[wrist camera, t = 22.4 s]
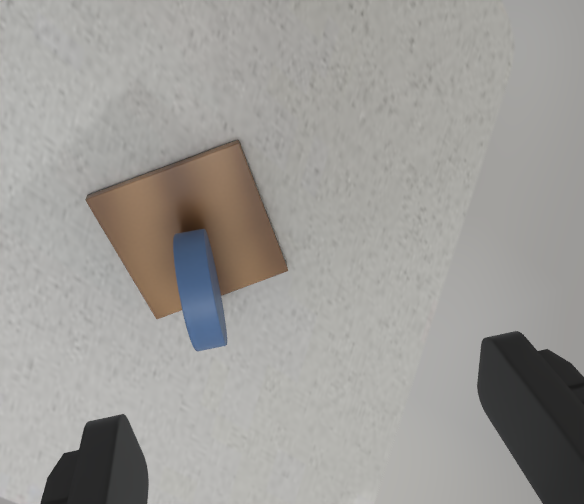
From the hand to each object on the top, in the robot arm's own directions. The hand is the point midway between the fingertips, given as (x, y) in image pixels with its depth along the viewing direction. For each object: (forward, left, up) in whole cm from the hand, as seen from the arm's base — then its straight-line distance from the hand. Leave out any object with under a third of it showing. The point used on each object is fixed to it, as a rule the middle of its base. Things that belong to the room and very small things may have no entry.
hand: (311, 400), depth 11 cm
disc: (+6, +9, -21) cm, 24 cm away
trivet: (+6, +8, -26) cm, 28 cm away
